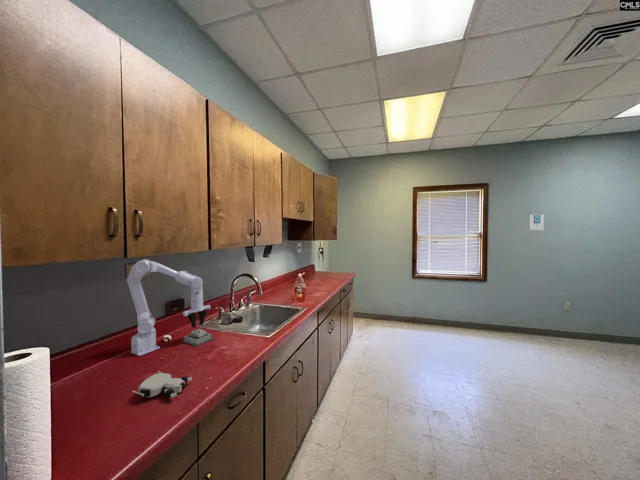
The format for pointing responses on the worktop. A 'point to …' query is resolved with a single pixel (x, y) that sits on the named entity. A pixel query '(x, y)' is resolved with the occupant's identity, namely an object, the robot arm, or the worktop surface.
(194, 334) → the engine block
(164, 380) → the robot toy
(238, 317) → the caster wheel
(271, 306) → the worktop surface
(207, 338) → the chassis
